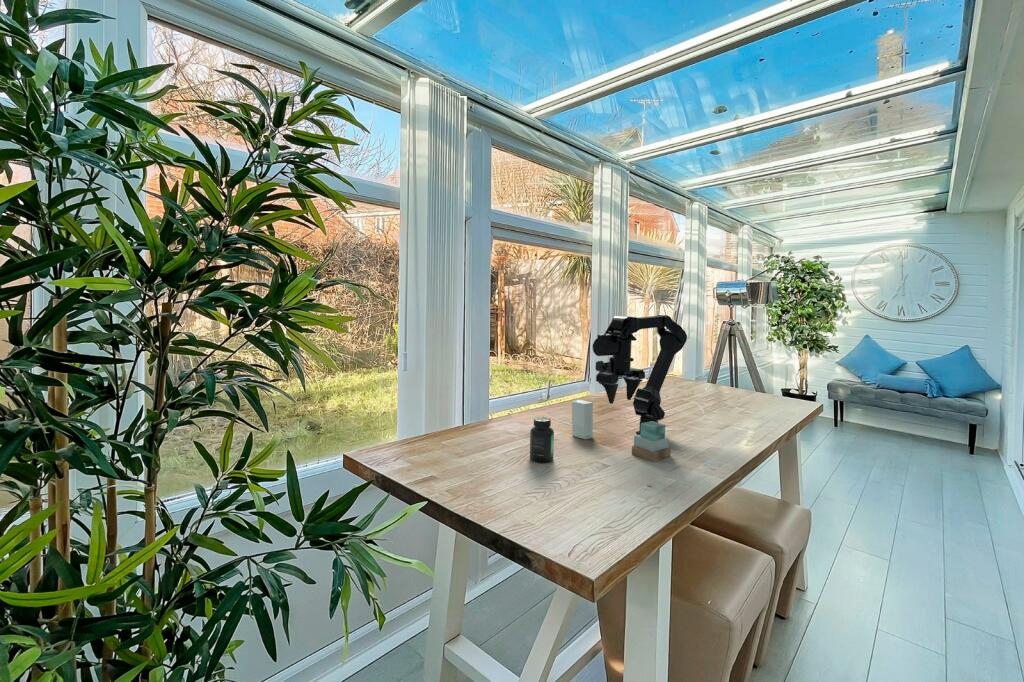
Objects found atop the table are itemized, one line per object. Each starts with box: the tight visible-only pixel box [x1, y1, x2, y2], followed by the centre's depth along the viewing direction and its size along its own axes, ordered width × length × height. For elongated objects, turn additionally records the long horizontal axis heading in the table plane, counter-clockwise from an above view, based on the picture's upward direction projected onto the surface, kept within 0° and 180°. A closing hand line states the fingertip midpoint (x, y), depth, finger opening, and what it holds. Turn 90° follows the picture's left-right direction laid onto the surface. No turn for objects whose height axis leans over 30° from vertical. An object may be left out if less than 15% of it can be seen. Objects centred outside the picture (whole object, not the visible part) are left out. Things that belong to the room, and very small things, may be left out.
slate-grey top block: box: [633, 434, 669, 452], centre depth 138 cm, size 7×7×3 cm
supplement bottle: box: [529, 416, 555, 464], centre depth 132 cm, size 7×7×12 cm
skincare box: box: [571, 399, 594, 440], centre depth 155 cm, size 6×4×12 cm
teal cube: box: [639, 421, 666, 441], centre depth 137 cm, size 5×5×4 cm
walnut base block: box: [631, 445, 671, 463], centre depth 137 cm, size 8×8×3 cm
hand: (620, 401), depth 151 cm, fingers open, 9 cm apart
